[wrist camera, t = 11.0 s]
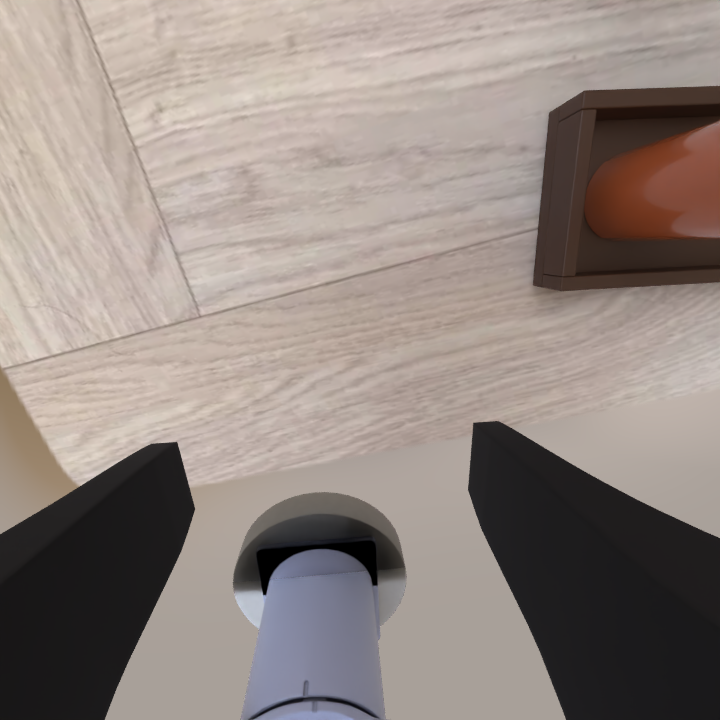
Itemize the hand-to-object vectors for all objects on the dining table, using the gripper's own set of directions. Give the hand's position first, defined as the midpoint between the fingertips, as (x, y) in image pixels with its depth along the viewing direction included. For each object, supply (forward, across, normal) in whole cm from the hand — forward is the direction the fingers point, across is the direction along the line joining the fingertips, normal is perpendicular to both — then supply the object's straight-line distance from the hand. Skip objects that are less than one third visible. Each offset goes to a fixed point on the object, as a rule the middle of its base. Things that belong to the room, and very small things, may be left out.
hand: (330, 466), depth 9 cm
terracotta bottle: (+9, -13, -6) cm, 17 cm away
